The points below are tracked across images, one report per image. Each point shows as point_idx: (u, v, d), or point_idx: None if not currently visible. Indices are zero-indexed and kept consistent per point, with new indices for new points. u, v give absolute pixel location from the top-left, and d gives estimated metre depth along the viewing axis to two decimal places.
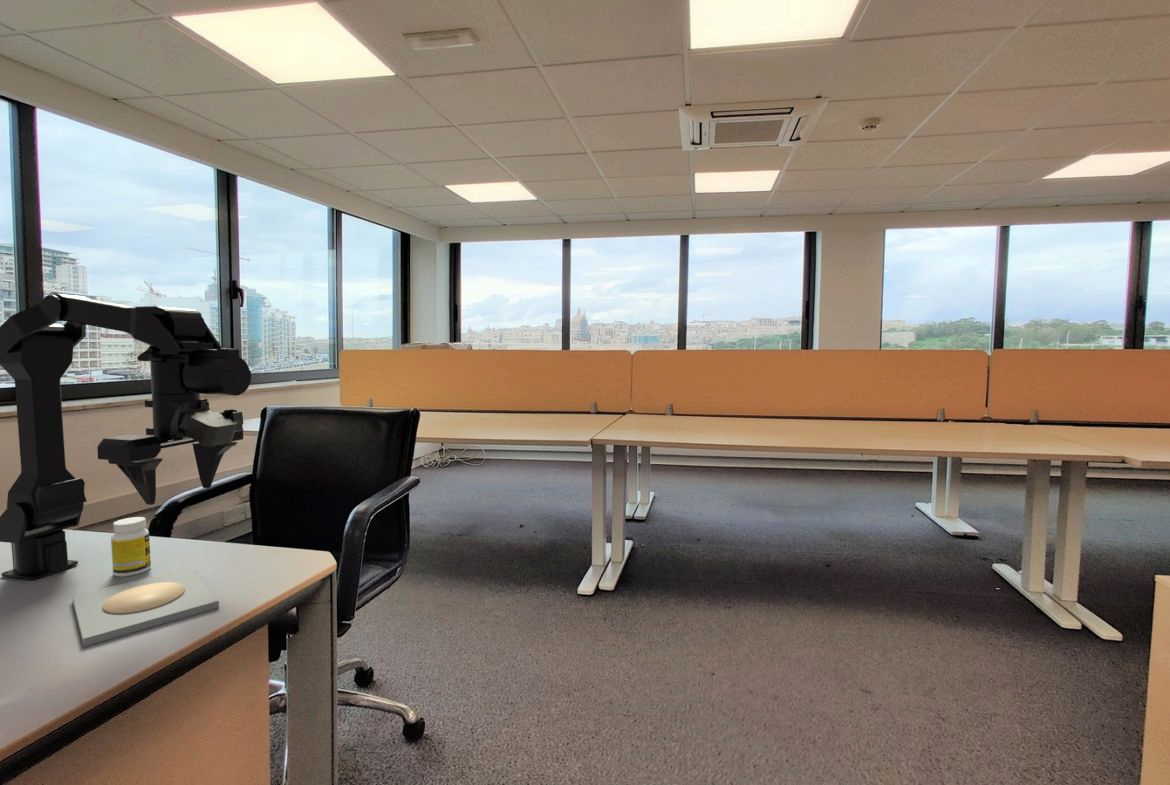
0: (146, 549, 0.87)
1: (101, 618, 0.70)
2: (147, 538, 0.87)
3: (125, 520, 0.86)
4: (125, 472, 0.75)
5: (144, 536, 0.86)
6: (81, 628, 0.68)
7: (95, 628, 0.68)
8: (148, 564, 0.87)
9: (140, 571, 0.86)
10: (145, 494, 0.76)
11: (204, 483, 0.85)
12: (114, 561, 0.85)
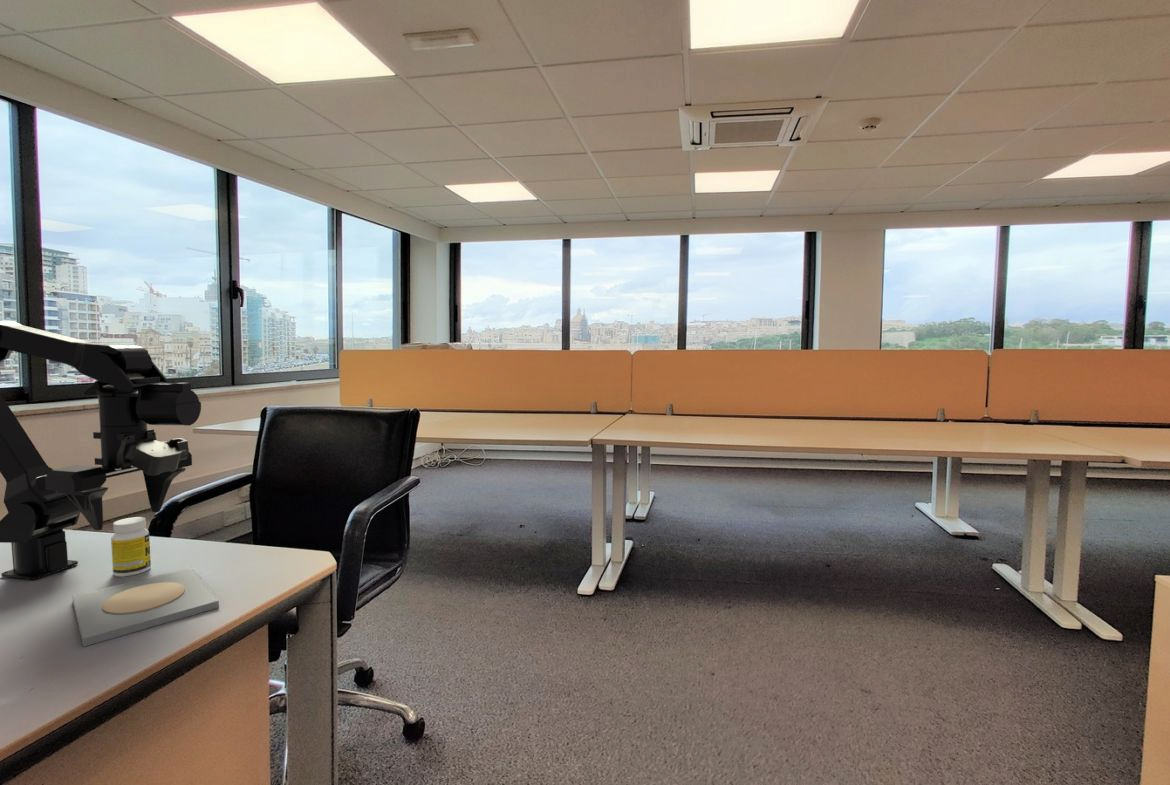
0: (146, 549, 0.87)
1: (101, 618, 0.70)
2: (147, 538, 0.87)
3: (125, 520, 0.86)
4: (73, 500, 0.80)
5: (144, 536, 0.86)
6: (81, 628, 0.68)
7: (95, 628, 0.68)
8: (148, 564, 0.87)
9: (140, 571, 0.86)
10: (92, 521, 0.81)
11: (153, 507, 0.91)
12: (114, 561, 0.85)
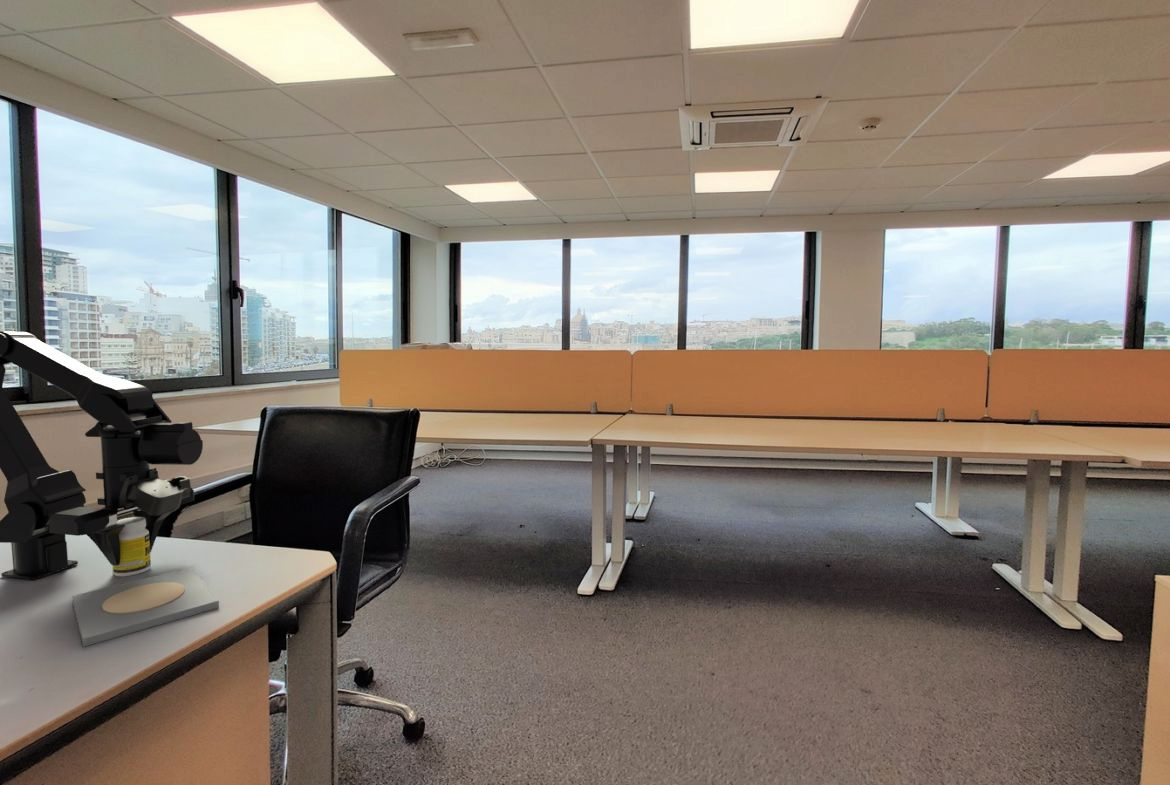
0: (146, 549, 0.87)
1: (101, 618, 0.70)
2: (147, 538, 0.87)
3: (125, 520, 0.86)
4: (91, 537, 0.83)
5: (144, 536, 0.86)
6: (81, 628, 0.68)
7: (95, 628, 0.68)
8: (148, 564, 0.87)
9: (140, 571, 0.86)
10: (110, 556, 0.84)
11: None
12: None
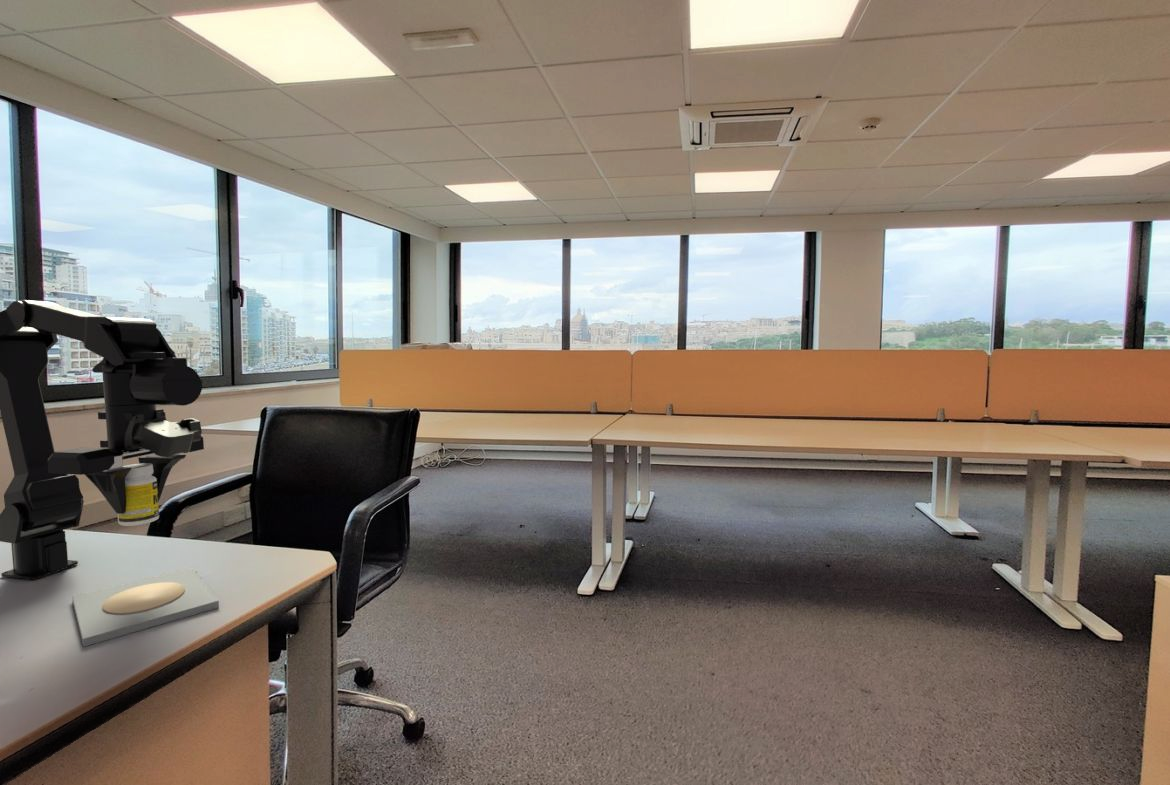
0: (154, 497, 0.80)
1: (101, 618, 0.70)
2: (155, 485, 0.80)
3: (130, 465, 0.79)
4: (94, 482, 0.75)
5: (152, 483, 0.79)
6: (81, 628, 0.68)
7: (95, 628, 0.68)
8: (156, 514, 0.80)
9: (148, 520, 0.79)
10: (115, 503, 0.76)
11: None
12: None
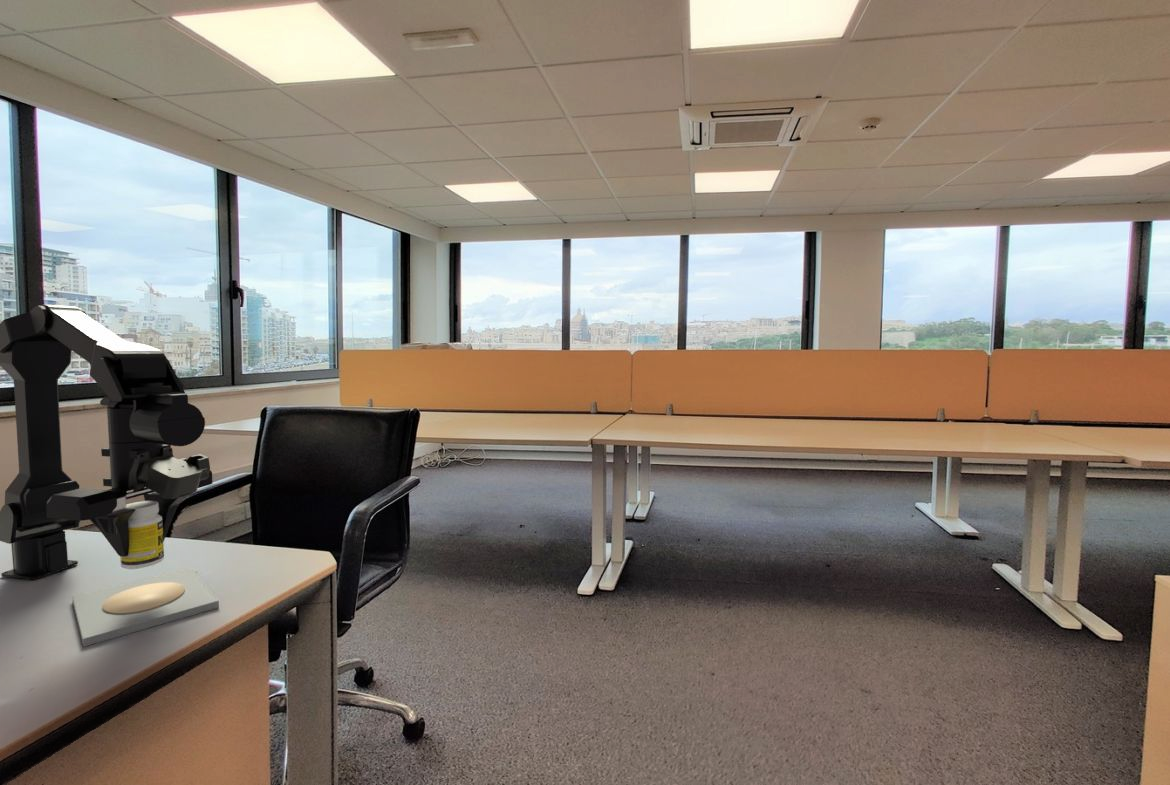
0: (159, 537, 0.75)
1: (101, 618, 0.70)
2: (160, 525, 0.76)
3: (135, 504, 0.75)
4: (96, 524, 0.71)
5: (157, 523, 0.75)
6: (81, 628, 0.68)
7: (95, 628, 0.68)
8: (161, 555, 0.76)
9: (152, 563, 0.74)
10: (117, 546, 0.72)
11: None
12: None
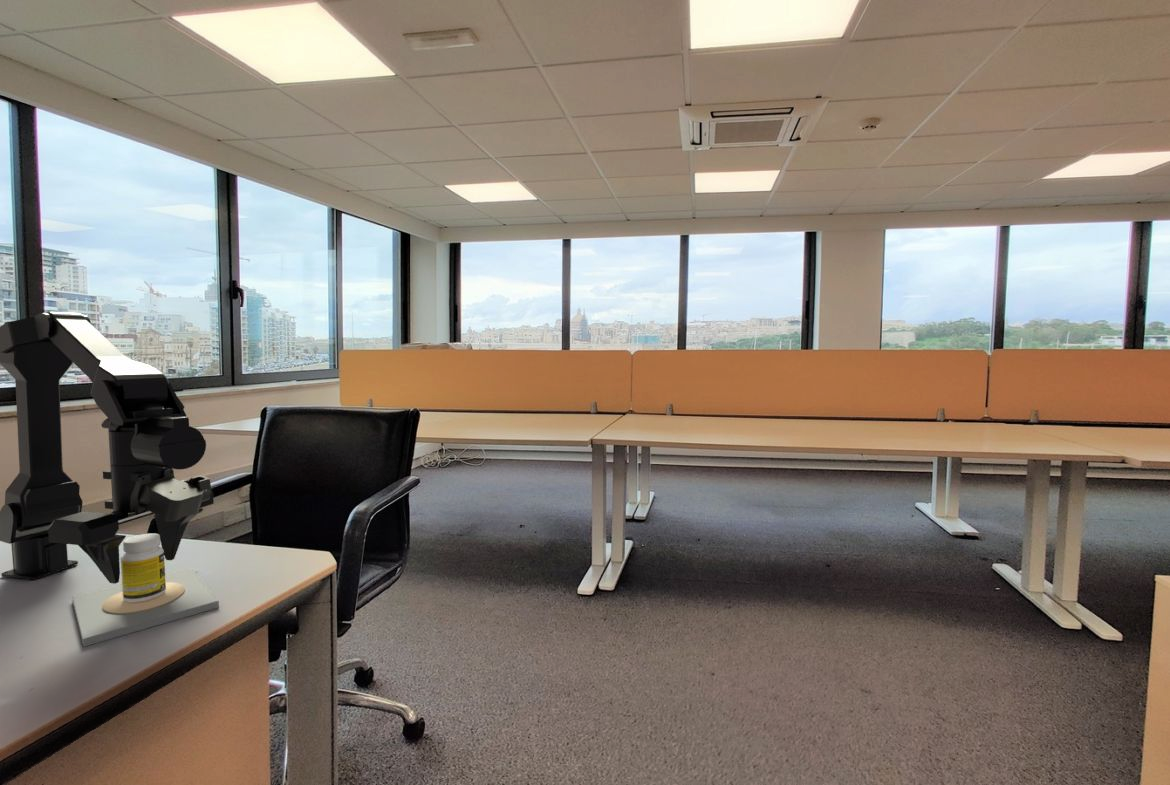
0: (161, 570, 0.76)
1: (101, 618, 0.70)
2: (162, 558, 0.76)
3: (136, 537, 0.75)
4: (86, 551, 0.70)
5: (158, 556, 0.75)
6: (81, 628, 0.68)
7: (95, 628, 0.68)
8: (163, 587, 0.76)
9: (154, 596, 0.75)
10: (108, 573, 0.71)
11: (167, 555, 0.79)
12: (124, 585, 0.73)
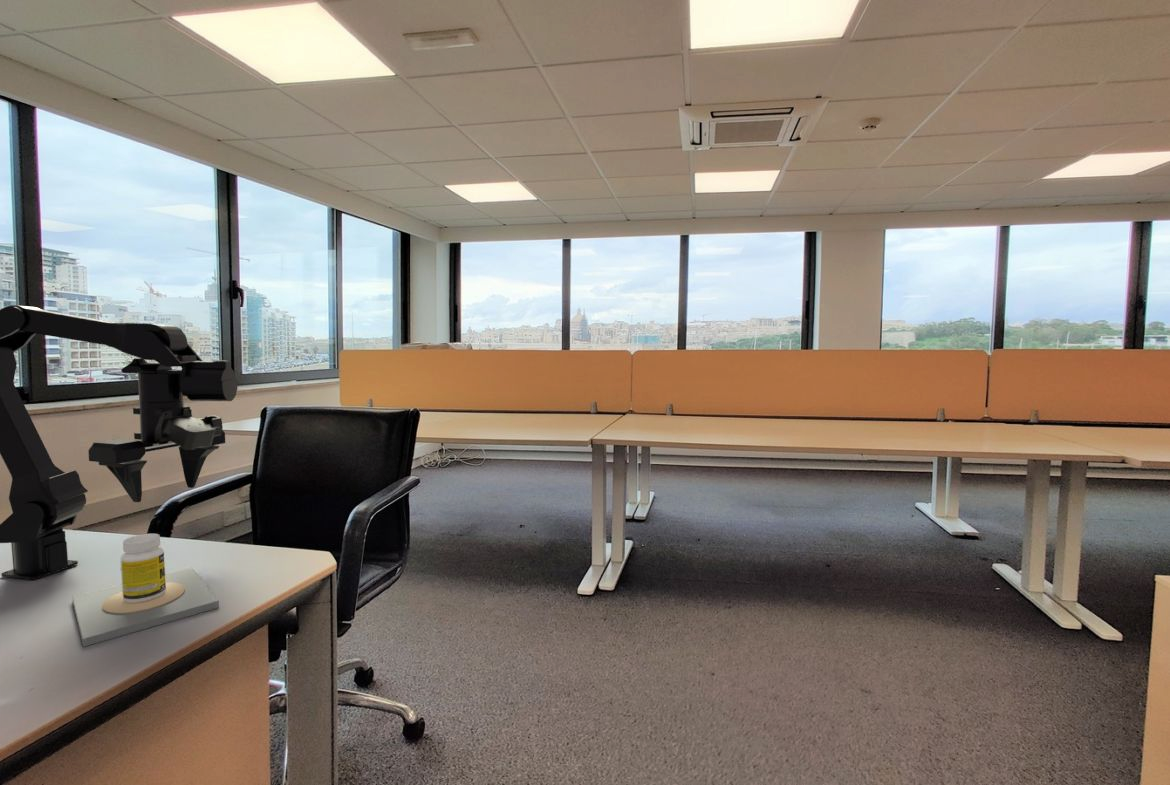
0: (161, 570, 0.76)
1: (101, 618, 0.70)
2: (162, 558, 0.76)
3: (136, 538, 0.75)
4: (114, 473, 0.83)
5: (158, 556, 0.75)
6: (81, 628, 0.68)
7: (95, 628, 0.68)
8: (163, 588, 0.76)
9: (154, 596, 0.75)
10: (132, 493, 0.84)
11: (189, 483, 0.93)
12: (124, 585, 0.73)
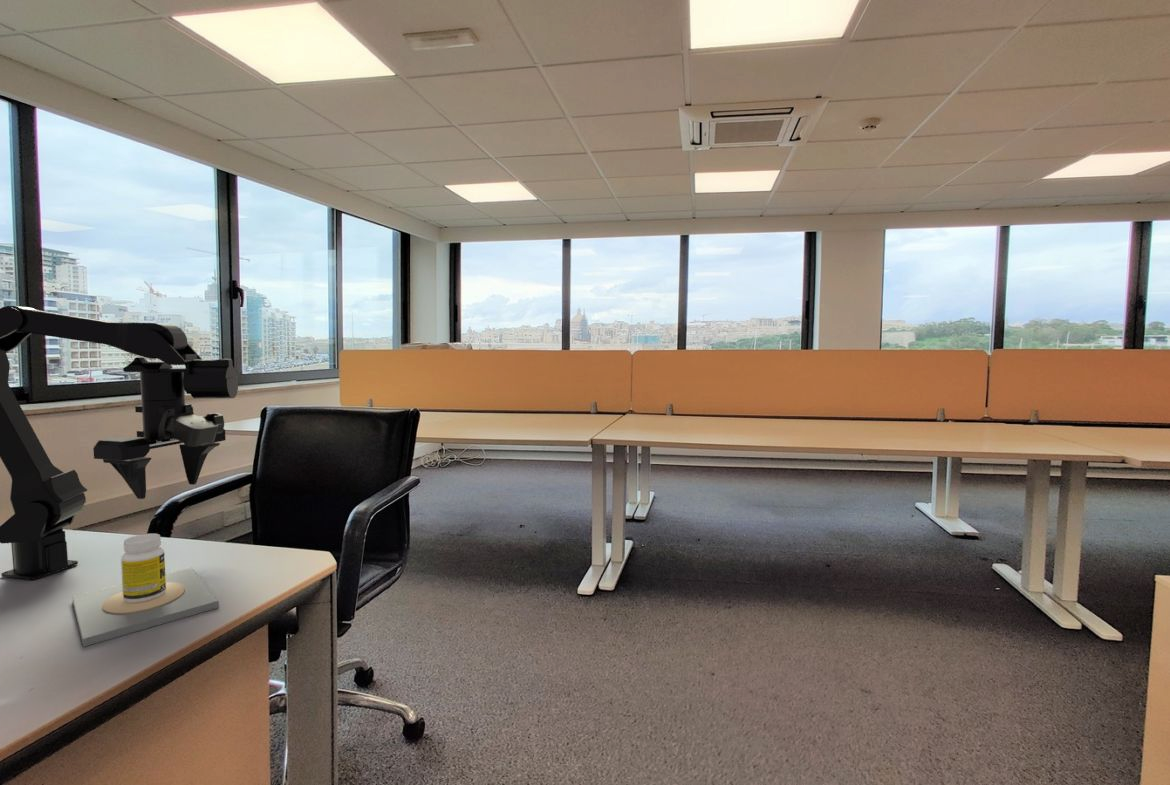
0: (161, 570, 0.76)
1: (101, 618, 0.70)
2: (162, 558, 0.76)
3: (137, 537, 0.75)
4: (118, 470, 0.84)
5: (159, 556, 0.75)
6: (81, 628, 0.68)
7: (95, 628, 0.68)
8: (163, 588, 0.76)
9: (154, 596, 0.75)
10: (136, 490, 0.85)
11: (190, 480, 0.95)
12: (124, 585, 0.73)
